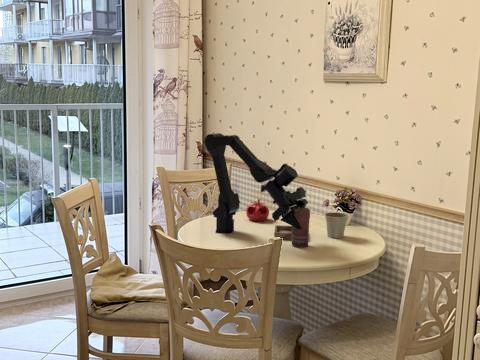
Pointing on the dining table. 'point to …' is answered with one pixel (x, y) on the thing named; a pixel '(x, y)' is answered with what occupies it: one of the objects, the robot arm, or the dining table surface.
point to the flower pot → (335, 224)
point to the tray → (283, 232)
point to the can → (302, 235)
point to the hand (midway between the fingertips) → (304, 227)
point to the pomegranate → (257, 211)
